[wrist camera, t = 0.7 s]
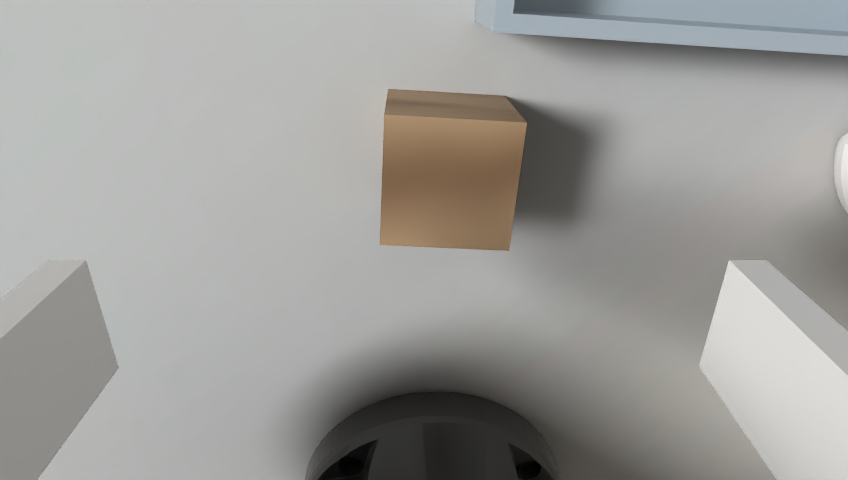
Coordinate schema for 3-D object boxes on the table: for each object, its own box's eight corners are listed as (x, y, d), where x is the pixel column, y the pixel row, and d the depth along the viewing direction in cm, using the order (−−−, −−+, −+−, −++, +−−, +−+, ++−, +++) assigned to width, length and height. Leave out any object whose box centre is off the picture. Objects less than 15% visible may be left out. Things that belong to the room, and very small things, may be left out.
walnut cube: (491, 203, 26) (509, 250, 22) (384, 198, 26) (379, 244, 22) (504, 95, 24) (527, 122, 20) (388, 88, 24) (384, 114, 19)
